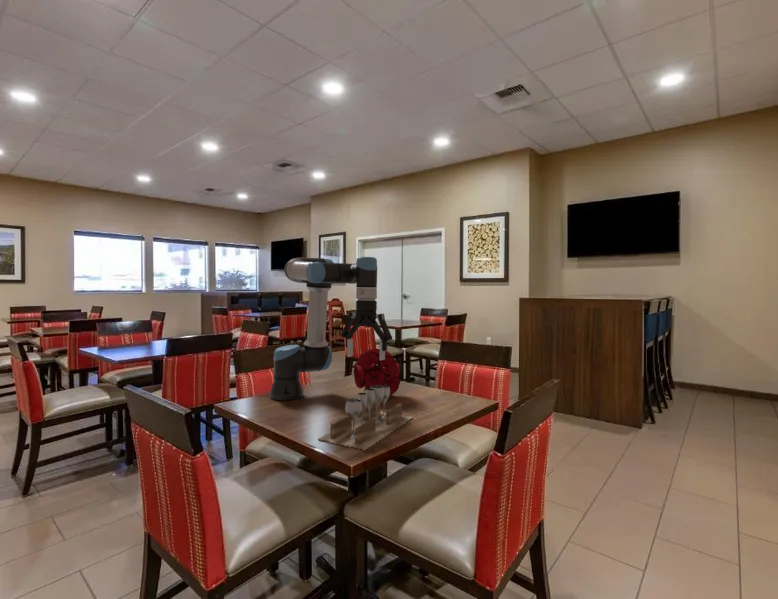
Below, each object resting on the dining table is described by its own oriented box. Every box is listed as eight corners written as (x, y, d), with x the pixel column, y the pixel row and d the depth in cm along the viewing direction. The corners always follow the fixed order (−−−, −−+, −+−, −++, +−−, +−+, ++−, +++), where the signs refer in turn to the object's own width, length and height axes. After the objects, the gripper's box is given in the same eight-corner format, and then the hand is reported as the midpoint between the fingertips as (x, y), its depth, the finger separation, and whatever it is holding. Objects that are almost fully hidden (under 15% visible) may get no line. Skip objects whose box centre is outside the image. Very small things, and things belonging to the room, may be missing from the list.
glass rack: (317, 440, 133) (317, 423, 133) (372, 411, 165) (372, 398, 165) (364, 450, 125) (365, 432, 125) (412, 418, 157) (412, 404, 157)
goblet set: (379, 414, 159) (379, 381, 159) (393, 416, 157) (393, 382, 157) (341, 437, 134) (341, 397, 134) (356, 440, 132) (357, 400, 131)
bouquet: (352, 405, 199) (350, 387, 173) (357, 359, 210) (355, 336, 184) (396, 408, 199) (400, 391, 173) (398, 362, 211) (403, 340, 184)
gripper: (332, 299, 149) (331, 356, 150) (392, 300, 138) (391, 363, 139) (343, 298, 156) (343, 353, 157) (401, 300, 145) (401, 359, 145)
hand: (365, 358), depth 148 cm, fingers open, 13 cm apart
